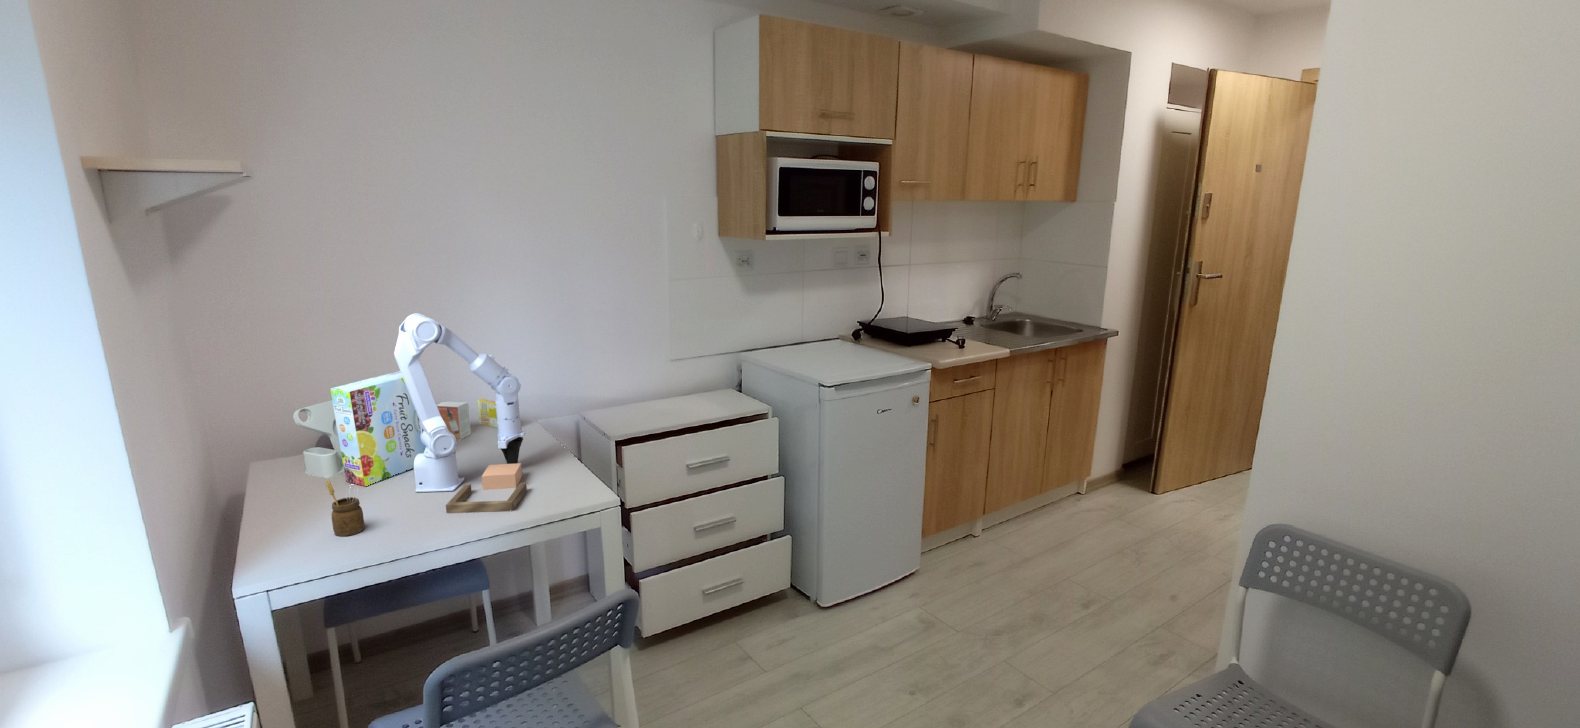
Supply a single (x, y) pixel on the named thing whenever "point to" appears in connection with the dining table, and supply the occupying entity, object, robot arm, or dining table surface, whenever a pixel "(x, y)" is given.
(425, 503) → the dining table surface
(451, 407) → the small box
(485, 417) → the candy box
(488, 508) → the brown u-shaped wooden frame
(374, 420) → the snack box
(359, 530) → the utensil holder
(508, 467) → the carton
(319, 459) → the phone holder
